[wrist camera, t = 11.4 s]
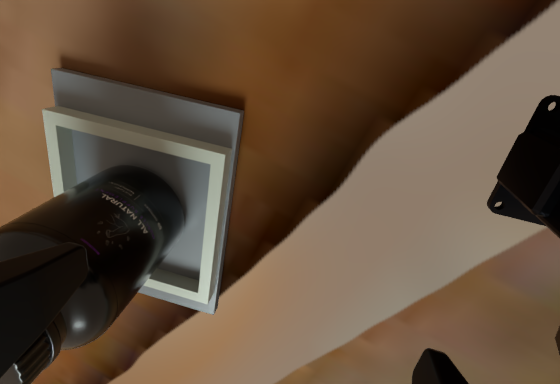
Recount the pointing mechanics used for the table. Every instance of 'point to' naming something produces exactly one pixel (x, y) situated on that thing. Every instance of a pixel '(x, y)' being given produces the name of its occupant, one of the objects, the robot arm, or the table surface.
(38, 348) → the supplement bottle
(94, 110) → the coaster tray
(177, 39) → the table surface
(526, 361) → the table surface
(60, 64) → the table surface
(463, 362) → the table surface
